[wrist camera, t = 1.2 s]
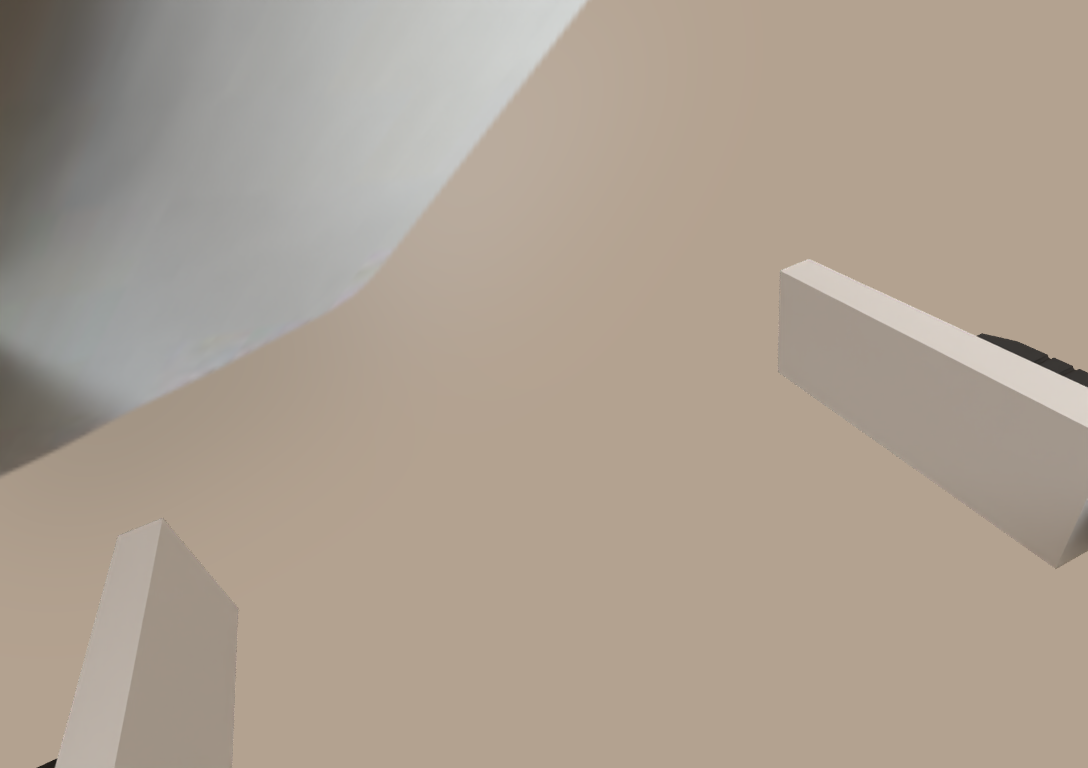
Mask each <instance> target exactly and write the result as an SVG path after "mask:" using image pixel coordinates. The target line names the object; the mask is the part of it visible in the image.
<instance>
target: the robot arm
mask: <svg viewBox="0 0 1088 768" xmlns="http://www.w3.org/2000/svg"><path fill="white" fill-rule="evenodd" d="M778 372H779V373H780V374H782V375H783V376H784V377H786V378H787V379H789V380H790V381H791V382H793V383H794V384H795V385H797V386H799V387H800V388H801V389H803V390H804V391H805V392H807V393H808V394H810V395H811V396H812V397H814V398H815V399H817V400H818V401H820V402H821V403H822V404H824V405H825V406H827V407H828V408H829V409H831V410H832V411H834V412H835V413H836V414H838V415H839V416H841V417H842V418H844V419H845V420H846V421H848V422H849V423H851V424H852V425H853V426H855V427H856V428H858V429H859V430H860V431H862V432H863V433H865V434H866V435H868V436H869V437H870V438H872V439H873V440H875V441H876V442H877V443H879V444H880V445H882V446H883V447H885V448H886V449H887V450H889V451H890V452H892V453H893V454H894V455H896V456H897V457H899V458H900V459H901V460H903V461H904V462H906V463H907V464H908V465H910V466H911V467H913V468H914V469H916V470H917V471H918V472H920V473H921V474H923V475H924V476H925V477H927V478H928V479H930V480H931V481H933V482H934V483H935V484H937V485H938V486H939V487H941V488H942V489H944V490H945V491H947V492H948V493H949V494H951V495H952V496H954V497H955V498H956V499H958V500H959V501H961V502H962V503H963V504H965V505H966V506H968V507H969V508H971V509H972V510H973V511H975V512H976V513H978V514H979V515H981V516H982V517H983V518H985V519H986V520H987V521H989V522H990V523H992V524H993V525H995V526H996V527H997V528H999V529H1000V530H1002V531H1003V532H1004V533H1006V534H1007V535H1009V536H1010V537H1011V538H1013V539H1014V540H1016V541H1017V542H1019V543H1020V544H1021V545H1023V546H1024V547H1026V548H1027V549H1028V550H1030V551H1031V552H1033V553H1034V554H1035V555H1037V556H1038V557H1040V558H1041V559H1043V560H1044V561H1046V562H1047V563H1048V564H1050V565H1051V566H1053V567H1054V568H1055V569H1057V568H1058V567H1060V566H1062V565H1064V564H1065V563H1067V562H1069V561H1070V560H1072V559H1074V558H1076V557H1078V556H1079V555H1081V554H1083V553H1085V552H1087V551H1088V373H1087V372H1085V371H1083V370H1081V369H1078V370H1074V368H1073V366H1072V365H1069V364H1067V363H1065V362H1063V361H1060V360H1058V359H1056V358H1052V359H1050V358H1049V357H1048V355H1047V354H1045V353H1042V352H1040V351H1038V350H1036V349H1033V348H1031V347H1029V346H1026V345H1024V344H1022V343H1020V342H1017V341H1013V340H1009V339H1004V338H999V337H996V336H991V335H987V334H980V335H978V336H975V335H973V334H970V333H968V332H966V331H964V330H961V329H960V328H957V327H955V326H953V325H951V324H949V323H947V322H944V321H942V320H940V319H938V318H936V317H934V316H931V315H929V314H927V313H925V312H923V311H921V310H918V309H916V308H914V307H912V306H910V305H907V304H905V303H903V302H901V301H899V300H896V299H894V298H892V297H890V296H888V295H886V294H884V293H882V292H879V291H877V290H875V289H873V288H871V287H868V286H866V285H864V284H862V283H860V282H858V281H856V280H853V279H851V278H849V277H847V276H845V275H843V274H840V273H838V272H836V271H834V270H832V269H829V268H827V267H825V266H823V265H821V264H819V263H816V262H814V261H812V260H810V259H808V260H805V261H803V262H800V263H798V264H795V265H793V266H790V267H788V268H786V269H783V270H780V292H779V342H778ZM237 623H238V607H237V606H236V605H235V603H234V602H233V601H232V600H231V599H230V597H229V596H228V595H227V594H226V593H225V592H224V590H223V589H222V588H221V587H220V586H219V584H218V583H217V582H216V581H215V580H214V578H213V577H212V576H211V575H210V574H209V572H208V571H207V570H206V569H205V568H204V566H203V565H202V564H201V563H200V562H199V560H198V559H197V558H196V557H195V556H194V554H193V553H192V552H191V551H190V550H189V548H188V547H187V546H186V545H185V544H184V542H183V541H182V540H181V539H180V538H179V536H178V535H177V534H176V533H175V532H174V531H173V529H172V528H171V527H170V526H169V524H168V523H167V522H166V521H165V520H164V519H163V518H161V519H158V520H156V521H153V522H151V523H148V524H146V525H143V526H141V527H138V528H136V529H133V530H131V531H128V532H126V533H123V534H121V535H118V538H117V541H116V545H115V549H114V552H113V556H112V560H111V564H110V567H109V571H108V574H107V578H106V582H105V585H104V589H103V593H102V596H101V600H100V604H99V608H98V611H97V615H96V619H95V622H94V626H93V630H92V633H91V637H90V641H89V645H88V648H87V652H86V655H85V659H84V663H83V667H82V670H81V674H80V677H79V681H78V685H77V688H76V693H75V696H74V700H73V703H72V707H71V711H70V714H69V718H68V722H67V725H66V729H65V733H64V736H63V740H62V744H61V748H60V751H59V755H58V758H57V759H55V760H53V761H51V762H48V763H46V764H44V765H42V766H40V767H38V768H232V754H233V729H234V703H235V677H236V652H237V627H238V624H237Z"/></svg>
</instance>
